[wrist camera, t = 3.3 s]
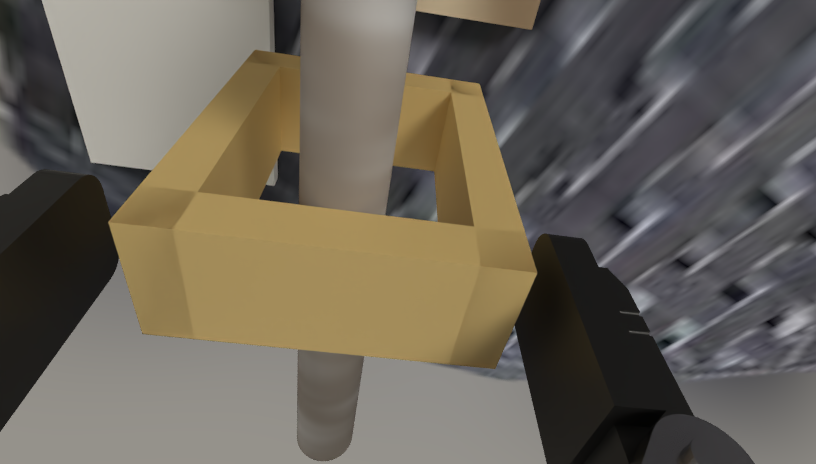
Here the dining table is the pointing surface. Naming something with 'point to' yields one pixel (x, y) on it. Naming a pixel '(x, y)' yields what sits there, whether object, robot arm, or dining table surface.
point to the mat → (151, 67)
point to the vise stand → (357, 154)
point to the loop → (328, 234)
